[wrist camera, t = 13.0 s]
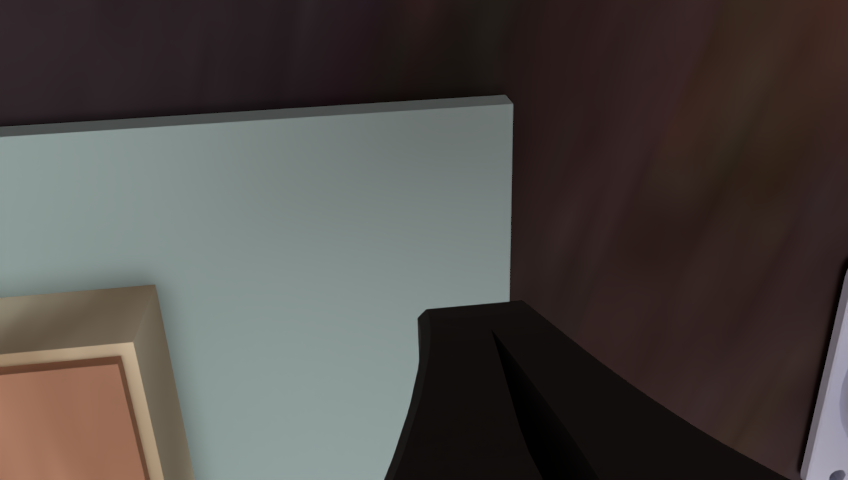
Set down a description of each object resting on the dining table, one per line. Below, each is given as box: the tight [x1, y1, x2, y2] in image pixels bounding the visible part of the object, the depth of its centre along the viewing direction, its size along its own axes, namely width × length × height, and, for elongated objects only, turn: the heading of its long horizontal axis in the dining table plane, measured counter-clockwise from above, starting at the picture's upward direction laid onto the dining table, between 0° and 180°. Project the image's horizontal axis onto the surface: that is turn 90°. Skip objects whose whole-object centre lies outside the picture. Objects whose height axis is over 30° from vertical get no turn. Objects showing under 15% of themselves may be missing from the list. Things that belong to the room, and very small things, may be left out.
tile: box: [0, 285, 195, 480], centre depth 18 cm, size 3×7×7 cm
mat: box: [0, 95, 513, 480], centre depth 20 cm, size 17×14×1 cm
